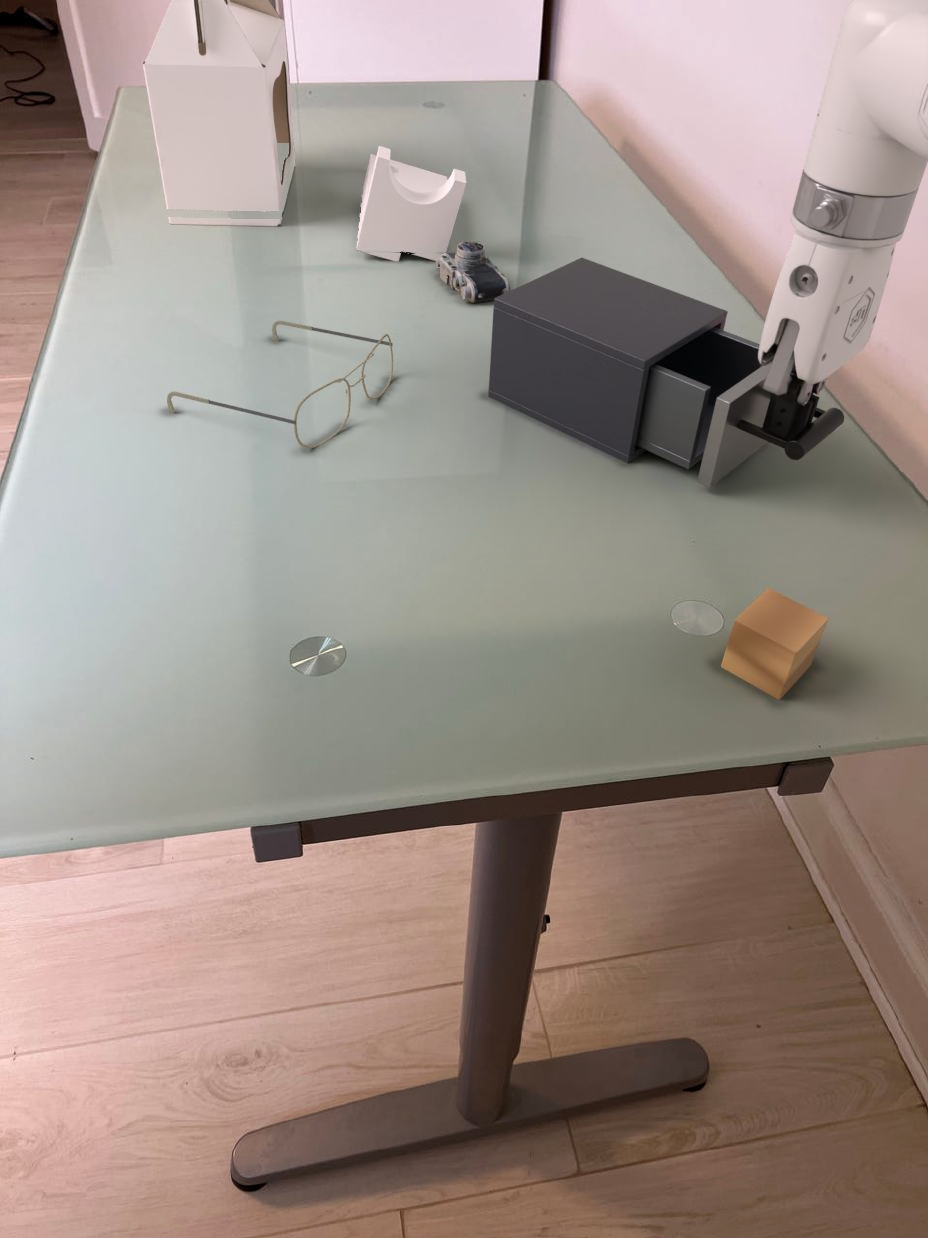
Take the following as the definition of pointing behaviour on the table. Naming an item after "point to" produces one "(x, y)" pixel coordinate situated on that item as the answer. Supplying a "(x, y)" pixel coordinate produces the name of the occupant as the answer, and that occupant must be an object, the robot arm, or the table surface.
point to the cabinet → (589, 349)
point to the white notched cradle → (407, 208)
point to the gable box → (221, 108)
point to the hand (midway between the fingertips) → (783, 436)
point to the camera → (472, 273)
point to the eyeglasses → (275, 338)
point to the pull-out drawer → (716, 407)
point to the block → (773, 642)
